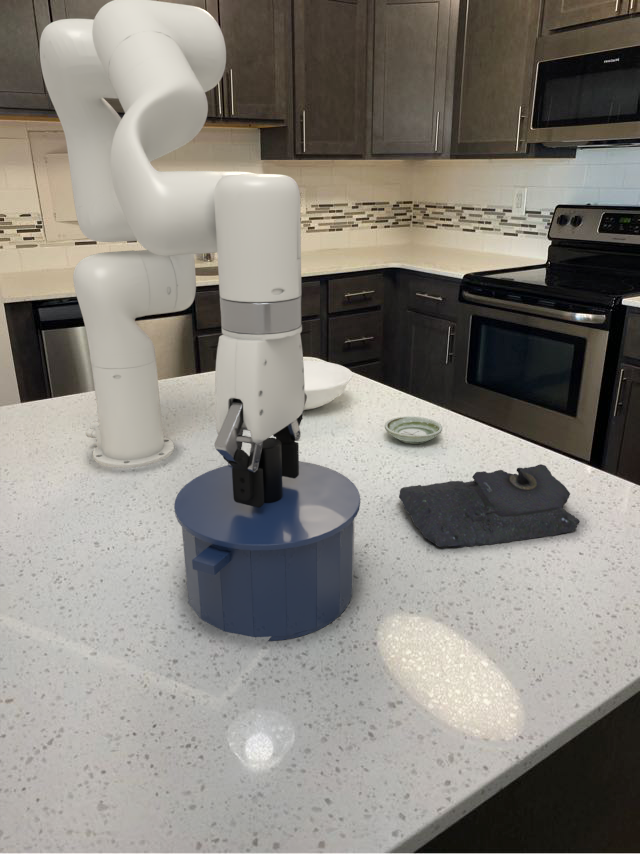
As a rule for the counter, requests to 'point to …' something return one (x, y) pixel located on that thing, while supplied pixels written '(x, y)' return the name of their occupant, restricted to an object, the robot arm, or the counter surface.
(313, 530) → the lid
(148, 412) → the robot arm
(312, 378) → the bowl
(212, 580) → the pot
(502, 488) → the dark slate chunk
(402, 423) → the saucer
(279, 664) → the counter surface
